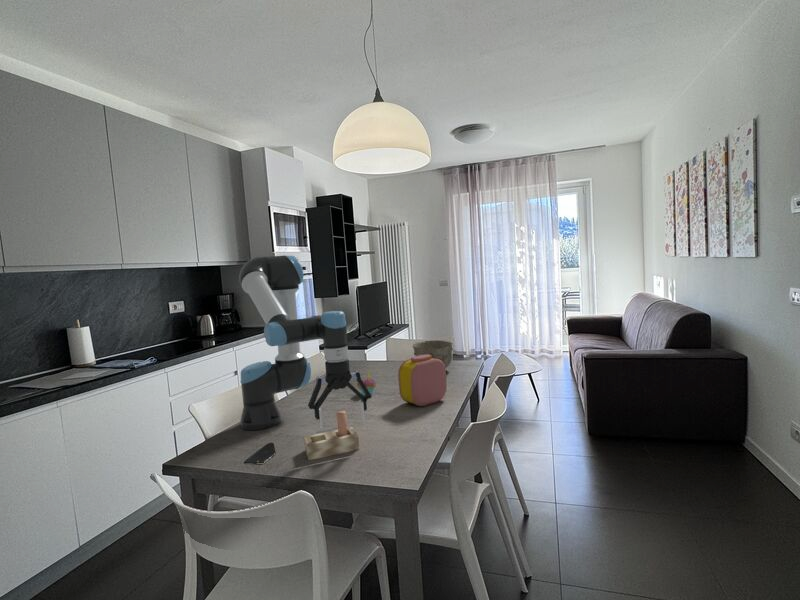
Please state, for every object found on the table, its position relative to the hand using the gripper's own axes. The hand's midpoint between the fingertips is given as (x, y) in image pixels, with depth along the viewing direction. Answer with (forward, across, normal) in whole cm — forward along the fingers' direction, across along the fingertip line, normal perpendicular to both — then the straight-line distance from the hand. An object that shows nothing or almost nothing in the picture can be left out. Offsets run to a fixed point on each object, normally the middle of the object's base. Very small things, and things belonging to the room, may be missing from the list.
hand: (342, 424), depth 140 cm
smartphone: (+8, -24, +9) cm, 27 cm away
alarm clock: (+8, +41, +29) cm, 51 cm away
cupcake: (+8, +23, +53) cm, 58 cm away
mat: (+8, -1, +13) cm, 15 cm away
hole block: (+8, -4, 0) cm, 9 cm away
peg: (+8, 0, 0) cm, 8 cm away
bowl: (+8, +66, +73) cm, 99 cm away
